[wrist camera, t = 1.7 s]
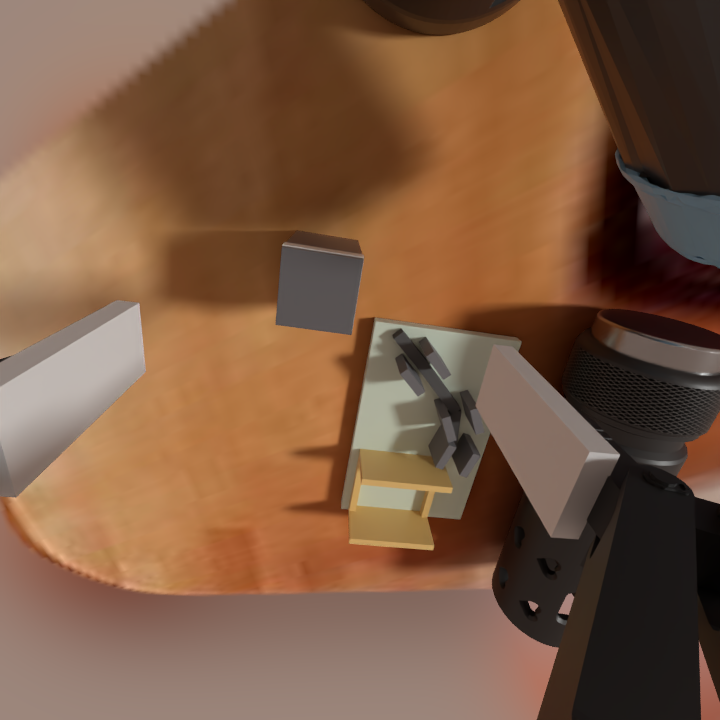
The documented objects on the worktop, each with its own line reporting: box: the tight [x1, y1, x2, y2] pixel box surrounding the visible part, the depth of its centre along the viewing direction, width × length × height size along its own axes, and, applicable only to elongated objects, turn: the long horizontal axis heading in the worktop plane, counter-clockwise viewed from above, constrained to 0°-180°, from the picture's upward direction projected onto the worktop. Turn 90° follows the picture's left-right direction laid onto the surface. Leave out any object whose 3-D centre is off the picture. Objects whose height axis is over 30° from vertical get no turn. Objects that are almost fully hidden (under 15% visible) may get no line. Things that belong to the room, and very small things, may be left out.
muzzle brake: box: [492, 309, 720, 647], centre depth 33 cm, size 10×28×10 cm, turn 173°
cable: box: [392, 328, 462, 447], centre depth 33 cm, size 13×3×1 cm, turn 21°
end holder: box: [348, 449, 453, 550], centre depth 36 cm, size 7×8×4 cm
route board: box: [341, 317, 522, 519], centre depth 34 cm, size 19×12×4 cm, turn 171°
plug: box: [276, 231, 364, 335], centre depth 26 cm, size 5×5×8 cm
